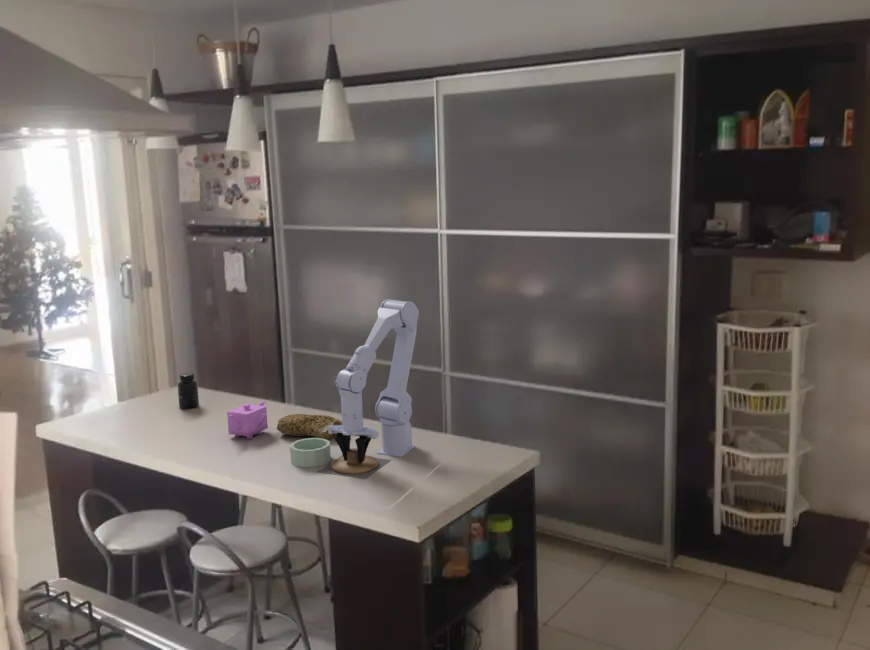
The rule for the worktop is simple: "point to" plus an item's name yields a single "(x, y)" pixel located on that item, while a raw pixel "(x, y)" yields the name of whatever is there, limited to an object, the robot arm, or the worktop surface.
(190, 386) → the supplement bottle
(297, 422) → the sponge
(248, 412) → the teapot
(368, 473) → the mat
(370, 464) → the lid
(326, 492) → the worktop surface
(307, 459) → the bowl
